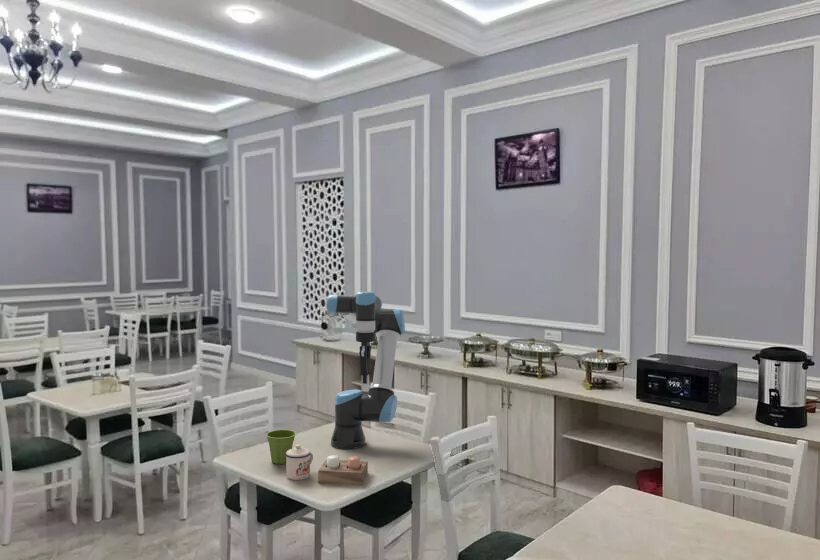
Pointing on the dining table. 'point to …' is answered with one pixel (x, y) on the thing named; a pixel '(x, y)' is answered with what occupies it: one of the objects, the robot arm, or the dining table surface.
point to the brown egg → (354, 462)
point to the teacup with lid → (298, 463)
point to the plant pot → (280, 444)
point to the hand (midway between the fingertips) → (365, 391)
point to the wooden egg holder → (343, 473)
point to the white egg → (333, 461)
